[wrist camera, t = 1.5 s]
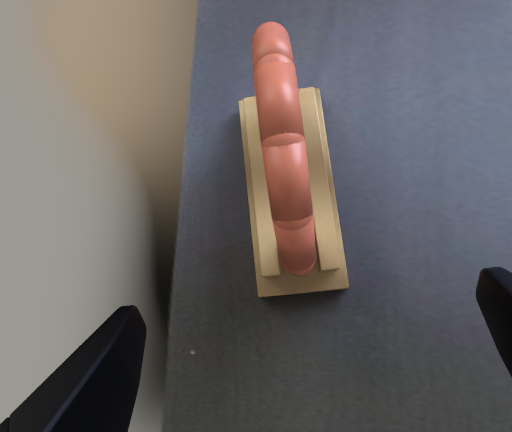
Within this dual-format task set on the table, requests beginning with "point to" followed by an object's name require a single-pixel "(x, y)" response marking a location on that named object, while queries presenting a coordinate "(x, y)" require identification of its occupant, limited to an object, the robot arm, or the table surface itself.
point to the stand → (323, 202)
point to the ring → (283, 147)
